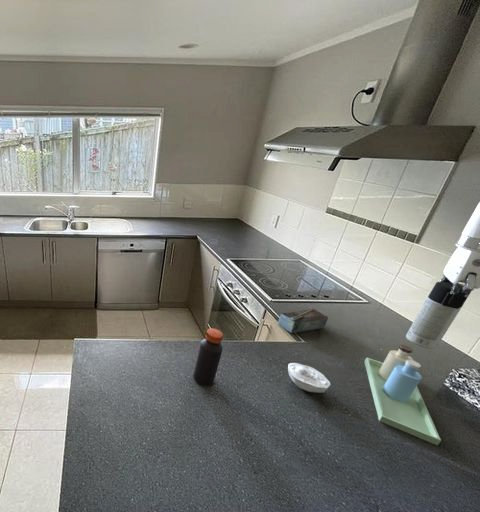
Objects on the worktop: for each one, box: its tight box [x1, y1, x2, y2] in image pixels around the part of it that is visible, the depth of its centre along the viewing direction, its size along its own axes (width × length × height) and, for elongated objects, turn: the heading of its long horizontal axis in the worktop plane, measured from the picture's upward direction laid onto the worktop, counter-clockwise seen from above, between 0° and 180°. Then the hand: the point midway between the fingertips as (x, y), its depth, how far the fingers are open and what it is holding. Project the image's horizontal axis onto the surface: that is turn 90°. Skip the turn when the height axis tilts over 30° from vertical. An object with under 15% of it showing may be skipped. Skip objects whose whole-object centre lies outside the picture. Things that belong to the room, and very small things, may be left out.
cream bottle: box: [378, 344, 415, 381], centre depth 98 cm, size 6×6×14 cm
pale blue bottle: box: [382, 359, 423, 402], centre depth 91 cm, size 6×6×14 cm
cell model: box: [287, 362, 331, 393], centre depth 95 cm, size 10×12×7 cm
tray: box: [363, 357, 442, 446], centre depth 93 cm, size 12×31×3 cm, turn 144°
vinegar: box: [193, 327, 224, 387], centre depth 94 cm, size 7×7×20 cm
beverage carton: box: [277, 308, 329, 334], centre depth 128 cm, size 8×19×7 cm, turn 103°
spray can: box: [405, 281, 472, 350], centre depth 83 cm, size 7×7×20 cm
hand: (445, 300), depth 81 cm, fingers closed on spray can, 6 cm apart
